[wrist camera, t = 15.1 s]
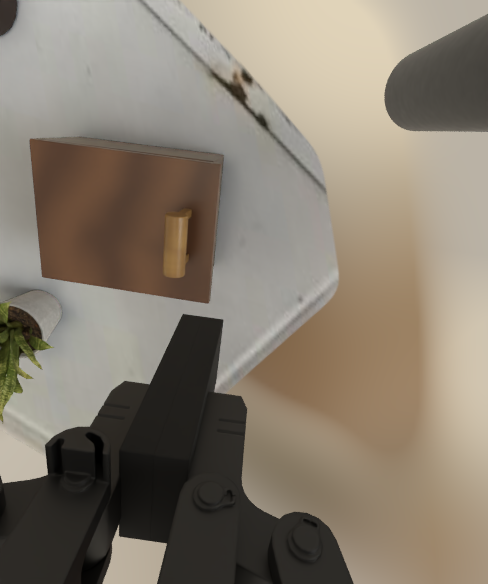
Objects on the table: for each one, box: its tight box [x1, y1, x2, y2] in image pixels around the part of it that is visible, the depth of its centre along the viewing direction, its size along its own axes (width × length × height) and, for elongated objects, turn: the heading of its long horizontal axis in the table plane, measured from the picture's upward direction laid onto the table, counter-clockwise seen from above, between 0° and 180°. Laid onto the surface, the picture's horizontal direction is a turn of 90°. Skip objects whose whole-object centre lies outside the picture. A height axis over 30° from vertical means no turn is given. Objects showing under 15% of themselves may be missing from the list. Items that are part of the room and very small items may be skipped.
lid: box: [30, 139, 222, 304], centre depth 33 cm, size 16×13×5 cm
